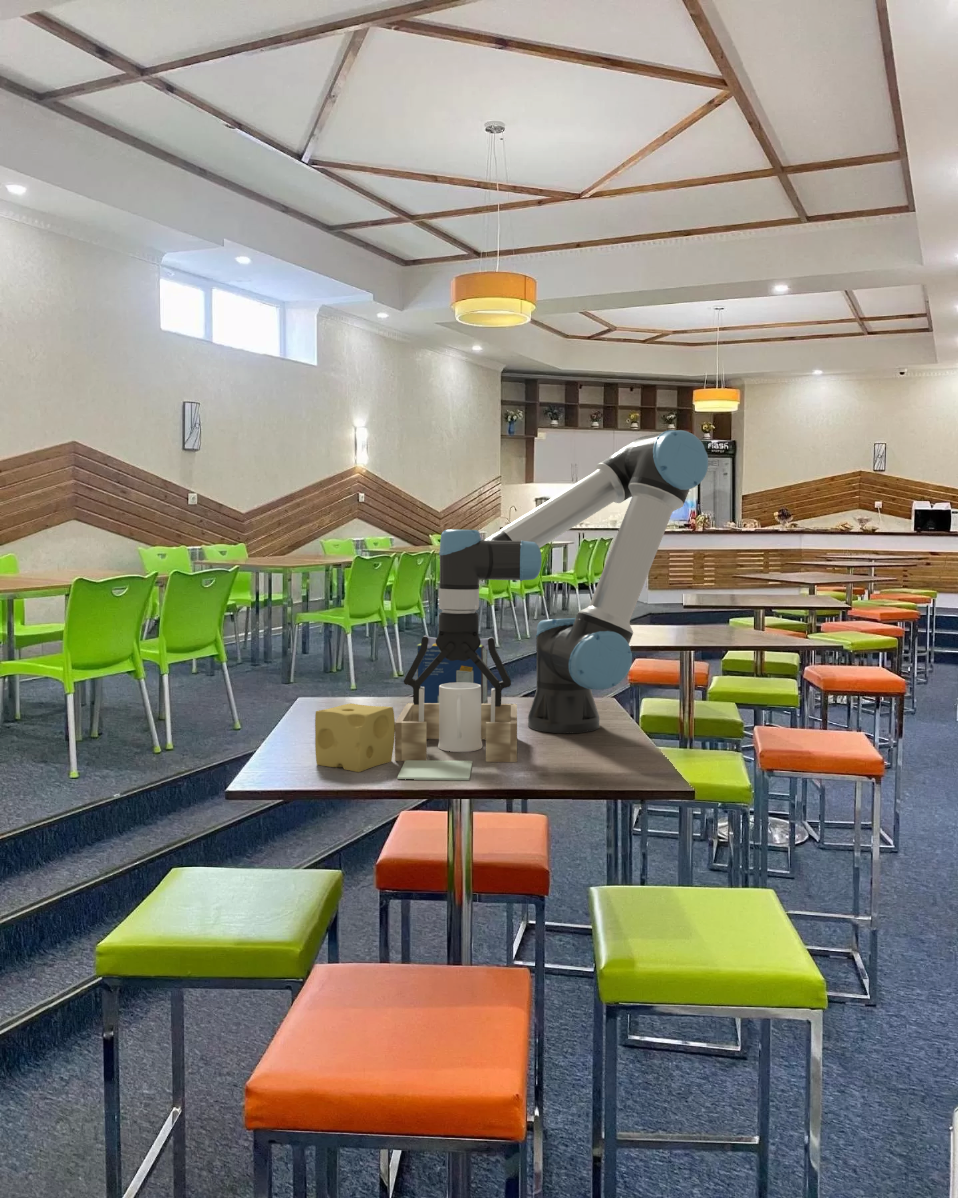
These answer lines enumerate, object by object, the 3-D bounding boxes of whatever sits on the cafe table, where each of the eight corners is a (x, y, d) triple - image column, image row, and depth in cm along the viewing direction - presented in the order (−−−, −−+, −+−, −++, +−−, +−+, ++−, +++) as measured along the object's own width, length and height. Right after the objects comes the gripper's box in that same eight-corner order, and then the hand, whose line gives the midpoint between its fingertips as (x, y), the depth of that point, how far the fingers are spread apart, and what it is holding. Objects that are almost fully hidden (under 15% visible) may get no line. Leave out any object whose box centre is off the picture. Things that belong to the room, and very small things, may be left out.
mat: (472, 763, 171) (472, 760, 171) (469, 780, 159) (469, 777, 159) (405, 762, 171) (405, 760, 171) (397, 779, 159) (397, 777, 159)
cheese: (359, 773, 164) (358, 715, 163) (311, 765, 169) (311, 709, 169) (396, 761, 172) (395, 706, 172) (349, 754, 178) (349, 701, 177)
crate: (516, 738, 191) (516, 703, 191) (517, 762, 171) (517, 723, 171) (407, 737, 192) (407, 703, 192) (395, 761, 172) (394, 722, 172)
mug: (477, 757, 175) (477, 692, 175) (432, 755, 176) (431, 691, 176) (484, 743, 187) (484, 682, 186) (441, 742, 188) (441, 681, 187)
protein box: (424, 703, 231) (424, 639, 230) (488, 705, 229) (488, 640, 228) (416, 711, 221) (415, 644, 220) (482, 713, 219) (482, 645, 217)
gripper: (524, 611, 183) (522, 720, 185) (395, 608, 184) (394, 717, 185) (525, 614, 176) (522, 728, 177) (390, 611, 177) (389, 724, 178)
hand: (456, 722), depth 181 cm, fingers open, 13 cm apart
